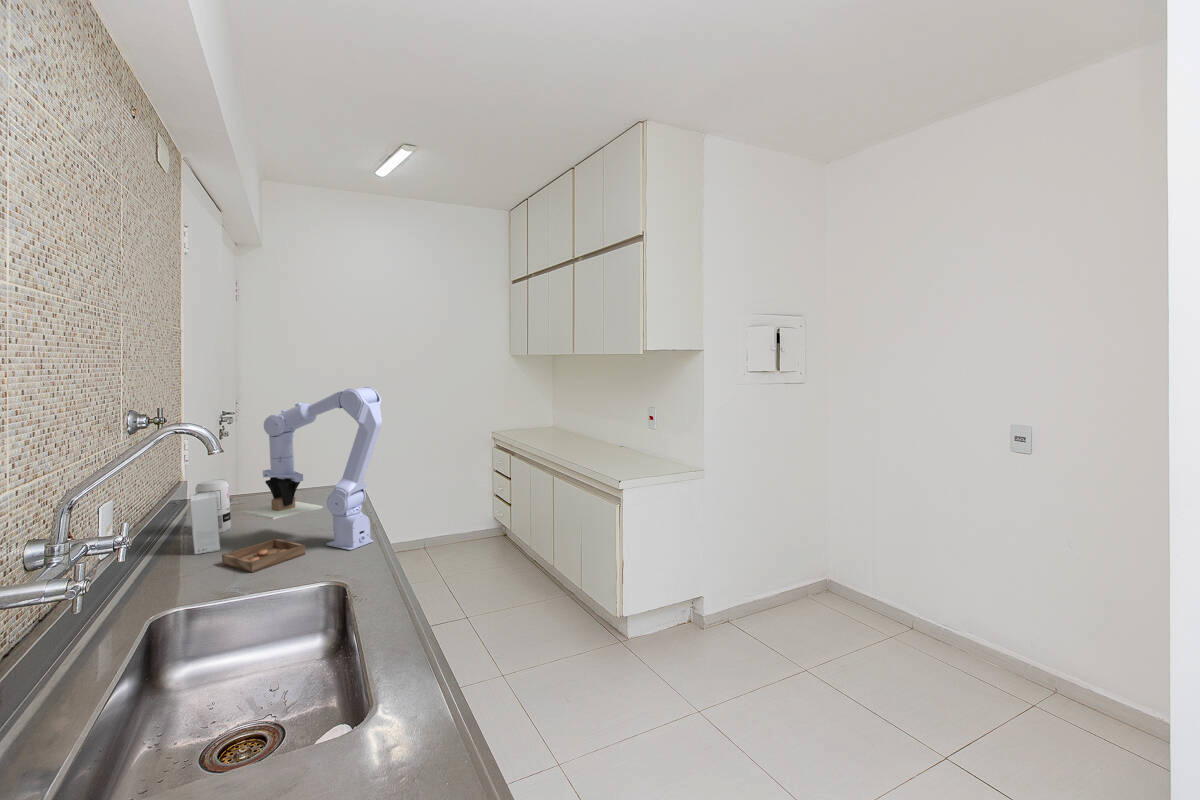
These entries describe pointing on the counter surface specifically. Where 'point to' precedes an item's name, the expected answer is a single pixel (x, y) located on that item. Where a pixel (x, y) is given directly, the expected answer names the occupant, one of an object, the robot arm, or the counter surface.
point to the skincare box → (204, 523)
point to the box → (263, 555)
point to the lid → (281, 509)
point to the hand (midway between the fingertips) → (283, 504)
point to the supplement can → (218, 500)
